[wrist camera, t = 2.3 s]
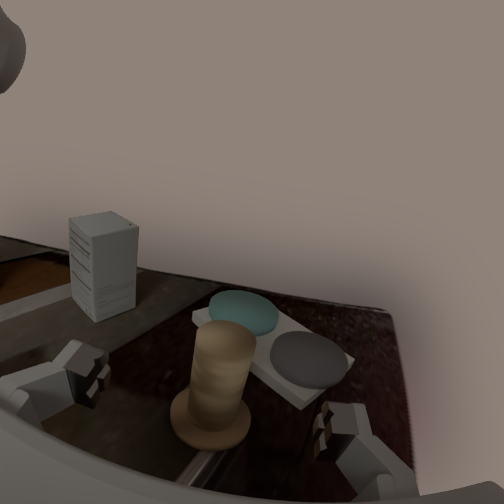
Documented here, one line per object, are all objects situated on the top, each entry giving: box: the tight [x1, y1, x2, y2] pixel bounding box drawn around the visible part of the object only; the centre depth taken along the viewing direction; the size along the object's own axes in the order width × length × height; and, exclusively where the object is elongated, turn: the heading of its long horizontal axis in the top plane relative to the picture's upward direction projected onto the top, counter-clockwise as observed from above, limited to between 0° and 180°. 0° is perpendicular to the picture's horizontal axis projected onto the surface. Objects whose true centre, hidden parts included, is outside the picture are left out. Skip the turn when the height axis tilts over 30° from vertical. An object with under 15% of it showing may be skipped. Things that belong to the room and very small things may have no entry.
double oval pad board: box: [192, 290, 355, 410], centre depth 42 cm, size 22×12×3 cm, turn 45°
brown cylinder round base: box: [170, 320, 257, 452], centre depth 27 cm, size 8×8×11 cm
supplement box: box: [69, 211, 139, 323], centre depth 40 cm, size 7×7×13 cm
